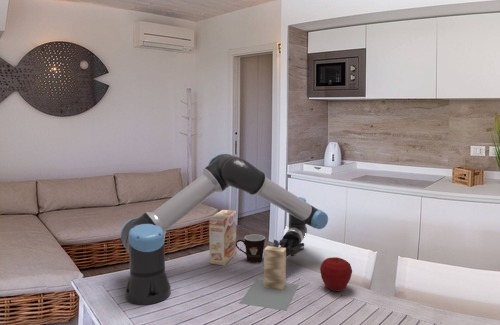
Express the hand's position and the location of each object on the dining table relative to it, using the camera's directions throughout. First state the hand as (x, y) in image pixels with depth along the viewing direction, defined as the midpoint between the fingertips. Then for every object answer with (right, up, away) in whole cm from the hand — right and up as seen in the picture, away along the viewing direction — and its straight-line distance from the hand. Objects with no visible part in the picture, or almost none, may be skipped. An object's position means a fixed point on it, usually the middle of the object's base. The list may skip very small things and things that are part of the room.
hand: (279, 258), depth 151 cm
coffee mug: (-10, -6, +23) cm, 26 cm away
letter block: (-2, -9, -4) cm, 10 cm away
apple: (+20, -10, -5) cm, 22 cm away
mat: (-4, -10, -9) cm, 14 cm away
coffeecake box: (-22, -6, +25) cm, 34 cm away
